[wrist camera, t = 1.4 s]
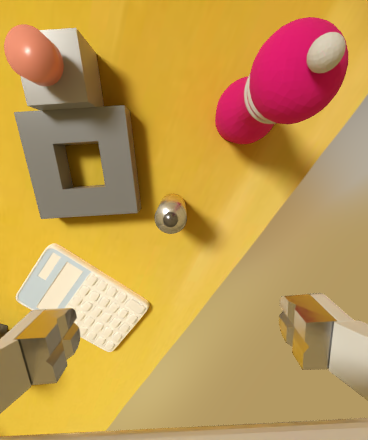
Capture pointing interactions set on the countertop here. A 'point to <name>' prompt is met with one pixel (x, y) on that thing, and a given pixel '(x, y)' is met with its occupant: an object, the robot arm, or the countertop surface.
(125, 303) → the calculator
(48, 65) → the plunger
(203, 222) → the countertop surface
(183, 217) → the cell
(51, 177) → the grey stepped block frame
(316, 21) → the pepper mill
